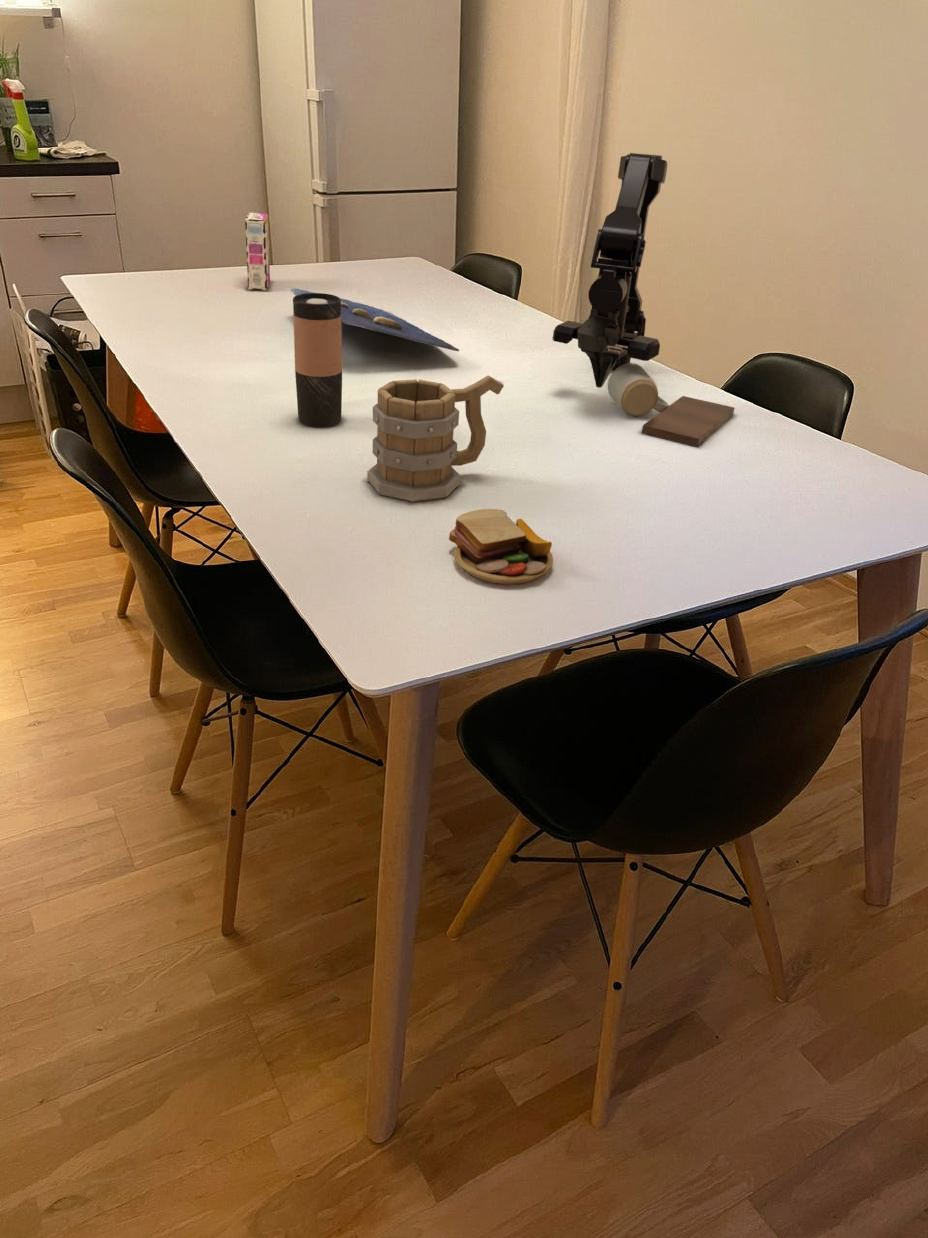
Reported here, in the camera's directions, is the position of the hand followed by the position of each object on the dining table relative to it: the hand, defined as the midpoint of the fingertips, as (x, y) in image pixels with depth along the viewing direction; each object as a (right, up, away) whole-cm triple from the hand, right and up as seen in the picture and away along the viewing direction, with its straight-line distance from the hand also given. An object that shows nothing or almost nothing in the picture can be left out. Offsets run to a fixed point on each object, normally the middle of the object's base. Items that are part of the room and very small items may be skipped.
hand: (599, 386), depth 176 cm
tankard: (-29, -22, -34) cm, 50 cm away
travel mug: (-49, -10, -15) cm, 52 cm away
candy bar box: (-76, +41, +63) cm, 107 cm away
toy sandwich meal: (-21, -36, -55) cm, 69 cm away
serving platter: (-46, +16, +27) cm, 56 cm away
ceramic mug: (+7, -5, -2) cm, 8 cm away
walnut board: (+15, -8, -7) cm, 18 cm away
